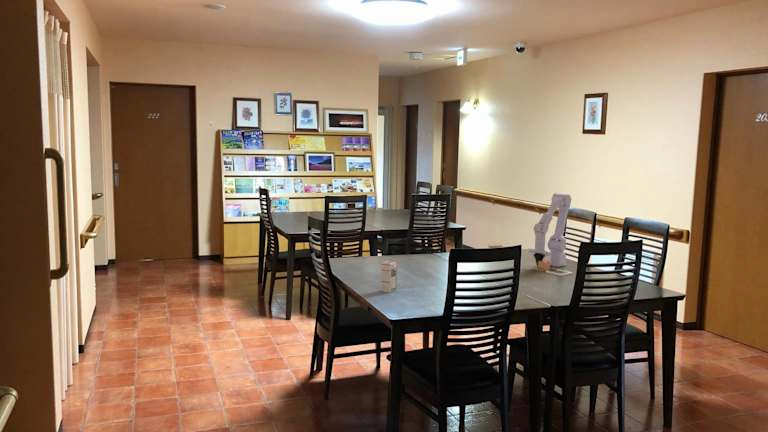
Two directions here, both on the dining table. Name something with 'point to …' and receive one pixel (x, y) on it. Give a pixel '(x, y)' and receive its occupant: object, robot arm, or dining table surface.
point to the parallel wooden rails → (544, 269)
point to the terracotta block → (544, 264)
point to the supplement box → (495, 246)
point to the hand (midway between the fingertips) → (538, 265)
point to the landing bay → (560, 271)
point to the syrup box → (388, 276)
